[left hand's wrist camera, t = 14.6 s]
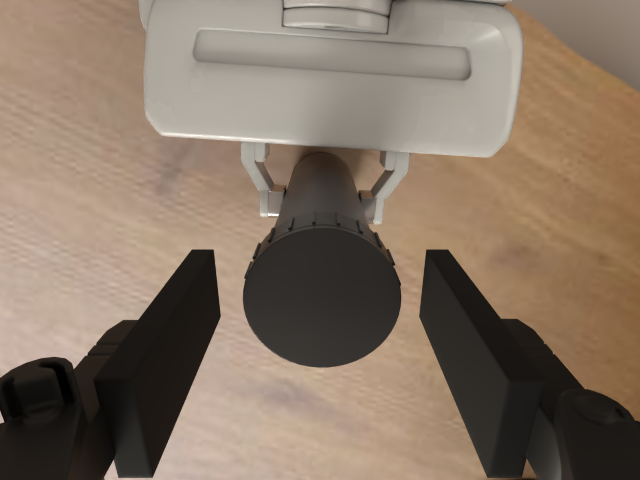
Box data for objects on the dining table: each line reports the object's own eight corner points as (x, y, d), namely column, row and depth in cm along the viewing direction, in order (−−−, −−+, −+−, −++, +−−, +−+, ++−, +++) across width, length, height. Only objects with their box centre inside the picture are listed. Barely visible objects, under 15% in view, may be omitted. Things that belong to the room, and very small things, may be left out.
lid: (223, 298, 16) (211, 323, 14) (298, 180, 14) (295, 193, 12) (341, 361, 17) (343, 392, 15) (423, 259, 15) (436, 281, 13)
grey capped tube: (279, 192, 31) (231, 314, 14) (312, 139, 30) (300, 208, 13) (330, 223, 32) (340, 371, 15) (364, 174, 30) (415, 278, 14)
